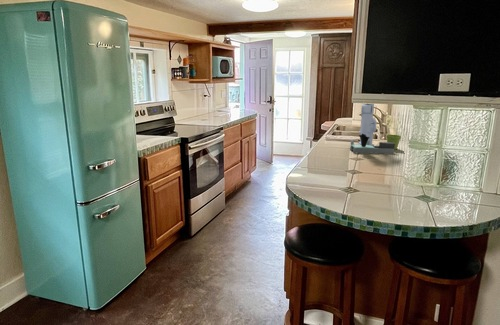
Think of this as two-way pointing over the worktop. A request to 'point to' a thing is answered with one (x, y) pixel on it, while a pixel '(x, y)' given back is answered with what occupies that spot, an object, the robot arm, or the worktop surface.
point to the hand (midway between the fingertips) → (363, 146)
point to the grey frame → (371, 149)
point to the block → (386, 145)
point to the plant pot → (393, 139)
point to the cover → (362, 147)
